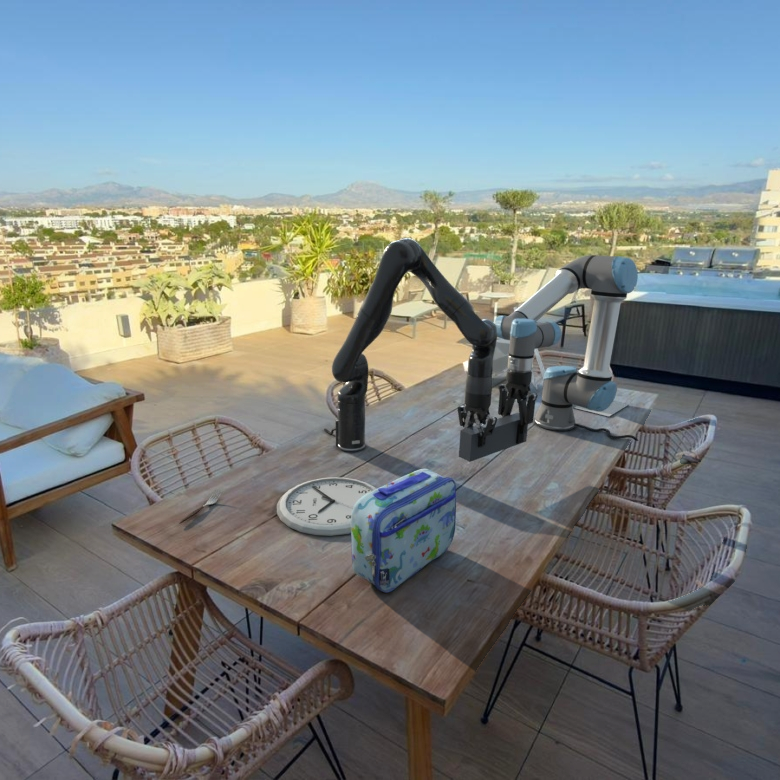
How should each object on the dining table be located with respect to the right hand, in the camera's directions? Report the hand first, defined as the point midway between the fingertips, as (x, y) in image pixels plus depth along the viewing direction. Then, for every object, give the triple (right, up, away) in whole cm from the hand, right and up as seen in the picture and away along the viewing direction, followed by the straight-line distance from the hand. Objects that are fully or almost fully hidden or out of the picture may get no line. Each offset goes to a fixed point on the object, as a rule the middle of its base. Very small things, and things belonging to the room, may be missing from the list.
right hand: (513, 439), depth 168 cm
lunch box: (-36, -24, -50) cm, 66 cm away
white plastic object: (+16, +19, +91) cm, 94 cm away
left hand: (-14, 0, -12) cm, 18 cm away
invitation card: (+52, +9, +59) cm, 79 cm away
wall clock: (-55, -16, -25) cm, 63 cm away
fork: (-90, -16, -29) cm, 96 cm away
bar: (-7, -2, -5) cm, 9 cm away
